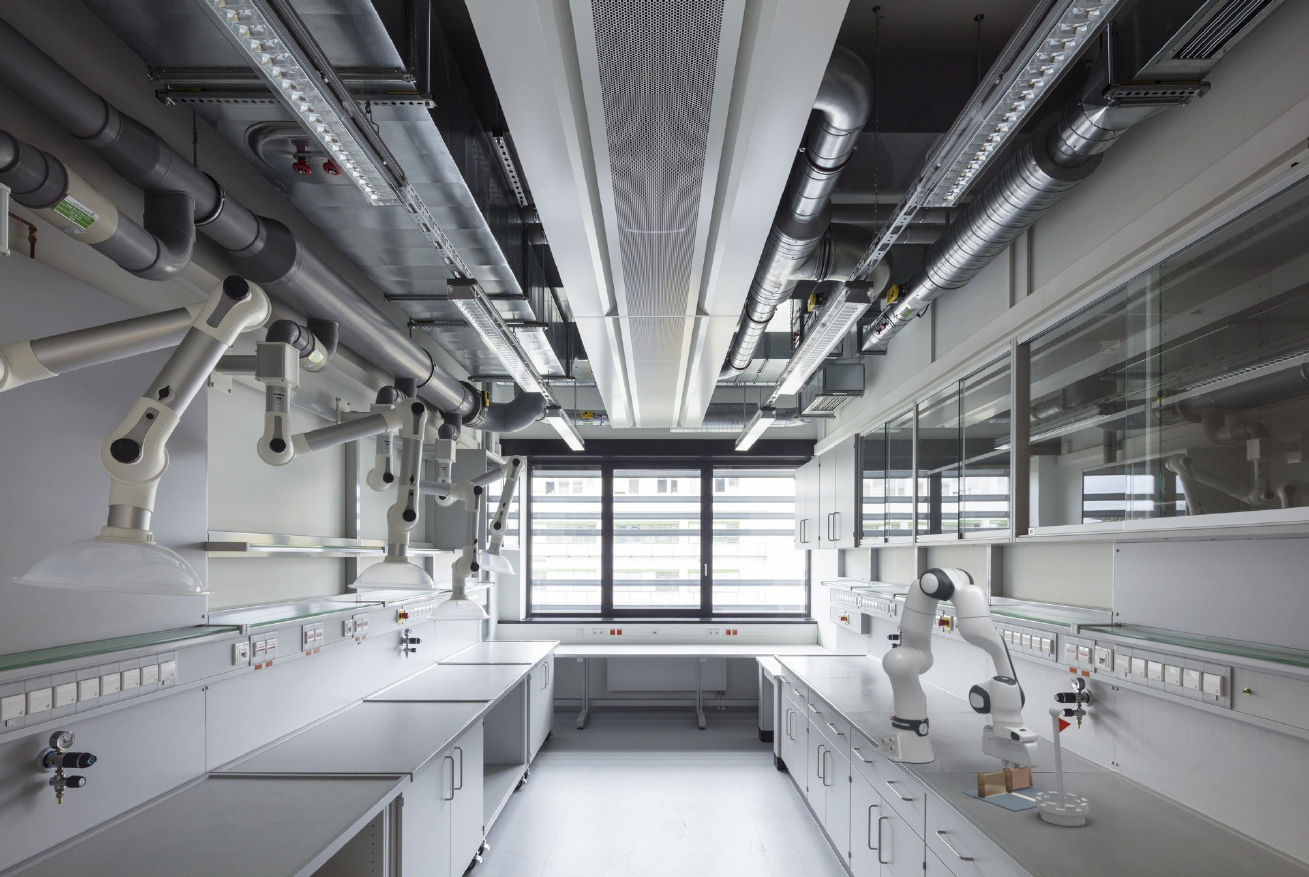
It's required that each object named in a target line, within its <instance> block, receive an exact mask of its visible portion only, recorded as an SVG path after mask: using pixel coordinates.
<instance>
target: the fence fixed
mask: <svg viewBox="0 0 1309 877" xmlns="http://www.w3.org/2000/svg"><path fill="white" fill-rule="evenodd" d="M976 780H977V789H978V797H981V798H985V797H987V796H992V795H997V794H1002V793H1006V792H1008V793H1011V792H1012V786H1011V771H1010V769H1009V768H1004V767H1002V770H1001V771H1000V770H999V771H994V772H989V773H984V772H976Z"/></svg>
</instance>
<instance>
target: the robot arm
mask: <svg viewBox="0 0 1309 877" xmlns="http://www.w3.org/2000/svg"><path fill="white" fill-rule="evenodd" d="M909 586H910V587H909V588H908V591H907V594H906V595H905V596H906V597H905V600H904V604H903V609H902V611H901V612H902V613H901V616H900V621H899V622H900V623H899V628H900V631H901V644H900V646H895V647H894V648H892V649H890V650H889V651H887V652H886V653H885V654H884V656H883V658H882V660H881V664H882V669H883V670H884V673H886V675H887V677H888V678H889V682H890V685H891V689H892V692H893V693H892V694H893V702H894V703H893V705H894V716H889V721H891V725H890V726H889V727H888V728H887V729H886V730H884V731H882V733H880V735H879V739H878V746H875V747H872V753H875V754H877V755H880V756H881V757H883V758H885V759H887V760H890V761H892V762H897V763H898V762H901V763H903V762H904V763H912V764H913V763H915V764H916V763H917V764H922V763H924V764H926V763H932V762H933V761H934V760H935V753H934V751H933V748H932V741H931V736H930V735H931V734H930V732H929V729H930V721H929V717H928V706H927V705H928V704H927V696H926V695H927V694H926V693H925V692H924V690H923V689H922V685H921V681H920V677H919V676H920V675H924V674H926V673H927V672H928V671H929V670H930V669H931V668H932V667H933V664H934V655H933V652H932V632H933V629H934V628H933V627H934V623H935V617H936V614H937V613H936V612H937V608H938V604H939V602H940V601H941V602H947V601H949V602H951V604H953V607H954V609H955V610H954V611H955V616H956V624H957V629H958V633H959V635H960V636H961V638H963V640H965V641H966V642H967V643H969V644H970V645H972V646H974V647H976V648H977V647H978V648H980V649H982V650H984V651H986V652H987V654H989V656H991V658H992V662H993V664H994V668H995V671H996V674H997V675H995V676H992V677H991V679H990V680H987V681H985V682H983V683H978V684H973V685H972V686H971V688H970V689H969V692H968V700H969V701H968V702H969V704H970V706H971V709H973V710H974V712H976V713H977V714H981V715H991V716H992V725H991V724H986V725H985V726H984V727H983V730H982V732H983V733H982V740H981V743H982V744H981V747H982V748H981V749H982V752H983V754H984V755H987V756H991V757H993V758H997V759H1000V760H1001V764H1002V766H1003V768H1009V769H1016V768H1020V766H1021V767H1028V768H1031V769H1035V768H1039V766H1040V764H1041V757H1040V749H1039V746H1038V743H1037V742H1036V741H1037V740H1038V734H1037V733H1036V732H1034V731H1033V730H1031V729H1030V728H1028V727H1027V726H1026V725H1024V721H1023V718H1022V709H1023V708H1024V706H1025V704H1026V694H1025V692H1024V690H1023V688H1022V686H1021V684H1020V682H1019V680H1018V677H1017V673H1016V670H1015V667H1014V665H1013V661H1012V658H1011V655H1010V651H1009V649H1008V646H1007V643H1006V640H1005V639H1004V637H1003V635H1001V633H1000V632H999V633H998V631H997V628H996V627H995V624H994V622H993V619H992V618H993V617H992V614H991V609H990V608H991V607H990V605H989V602H988V599H987V595H986V594H985V591H984V589H983V588H982V587H980V586H979V585H975V582H974V579H973V576H972V575H971V574H970V573H969V572H968V571H966V570H964V569H961V568H958V567H957V568H955V567H949V566H948V567H945V566H944V567H938V568H937V567H932V568H928V569H926V570H924V571H922V573H921V574H920V577H919V579H918V578H917V579H915V580H913V581H912V582H911V584H910V585H909Z"/></svg>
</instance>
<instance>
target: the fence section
mask: <svg viewBox="0 0 1309 877" xmlns="http://www.w3.org/2000/svg"><path fill="white" fill-rule="evenodd" d="M1032 769H1033V768H1028V767H1025V766H1020V767H1019V768H1016V769H1012V768H1011V769H1010V771H1011V786H1012V790H1014V789H1019V788H1024V787H1029V786H1032V787H1034V785H1033V784H1034V783H1033V773H1032V772H1033V770H1032Z"/></svg>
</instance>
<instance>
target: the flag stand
mask: <svg viewBox="0 0 1309 877" xmlns="http://www.w3.org/2000/svg"><path fill="white" fill-rule="evenodd" d="M1048 713H1049V715H1050V716H1051V720H1052V731H1053V732H1052V733H1053V746H1054V757H1055V758H1054V762H1055V774H1056V786H1057V791H1048V796H1044V793H1041V792H1040V793H1037V794H1036V797H1035V798H1036V806H1037V807H1036V808H1038V809H1039V811H1040V818H1041V819H1042V820H1044V821H1045V822H1048V823H1049V824H1054V825H1057V826H1063V827H1079V826H1084V825H1085V824H1086V815H1088V813H1089V812H1090V809H1089V808H1090V807H1089V802H1088V799H1086V798H1084V797H1080V799H1078V796H1077V795H1076V794H1072V793H1068V792H1067V793H1066V796H1065V792H1064V778H1063V775H1064V774H1063V765H1062V764H1063V763H1062V751H1061V749H1062V748H1061V738H1060V733H1061V732H1063V730H1065V729H1067V728H1068V727H1069V726H1071V725H1072V724H1071V723H1070V722H1068V721H1067V720H1064V719H1062V718H1061V717H1060V716H1061V709H1060V708H1059V707H1058V706H1055V705H1052V706H1050V707H1049V709H1048Z"/></svg>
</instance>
